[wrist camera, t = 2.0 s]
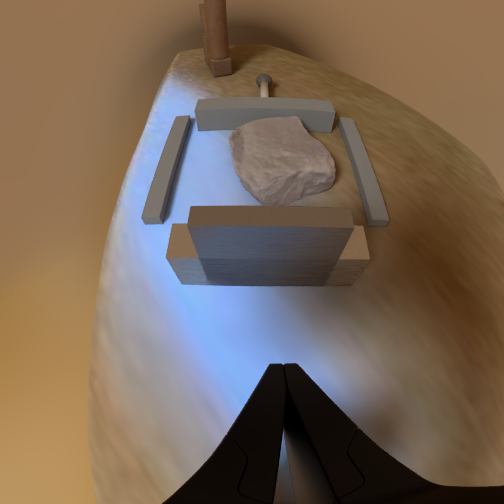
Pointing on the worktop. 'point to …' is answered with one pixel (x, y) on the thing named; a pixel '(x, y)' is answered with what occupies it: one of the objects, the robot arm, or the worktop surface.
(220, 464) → the robot arm
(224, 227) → the bar
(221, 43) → the wooden block
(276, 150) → the stone block
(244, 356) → the worktop surface
